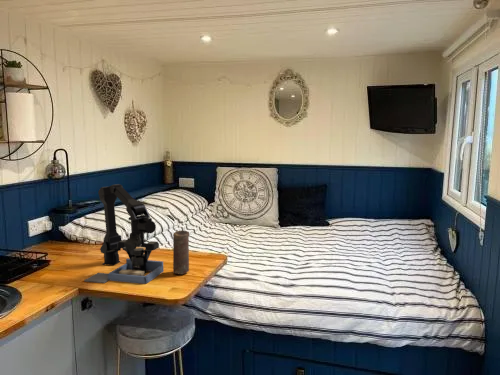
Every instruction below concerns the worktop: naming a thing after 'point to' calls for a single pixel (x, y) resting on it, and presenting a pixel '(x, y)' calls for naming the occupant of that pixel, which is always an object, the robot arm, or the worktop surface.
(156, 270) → the blue-grey rectangular tray
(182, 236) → the candle
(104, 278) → the mat
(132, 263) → the supplement bottle
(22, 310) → the worktop surface
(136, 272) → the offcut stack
